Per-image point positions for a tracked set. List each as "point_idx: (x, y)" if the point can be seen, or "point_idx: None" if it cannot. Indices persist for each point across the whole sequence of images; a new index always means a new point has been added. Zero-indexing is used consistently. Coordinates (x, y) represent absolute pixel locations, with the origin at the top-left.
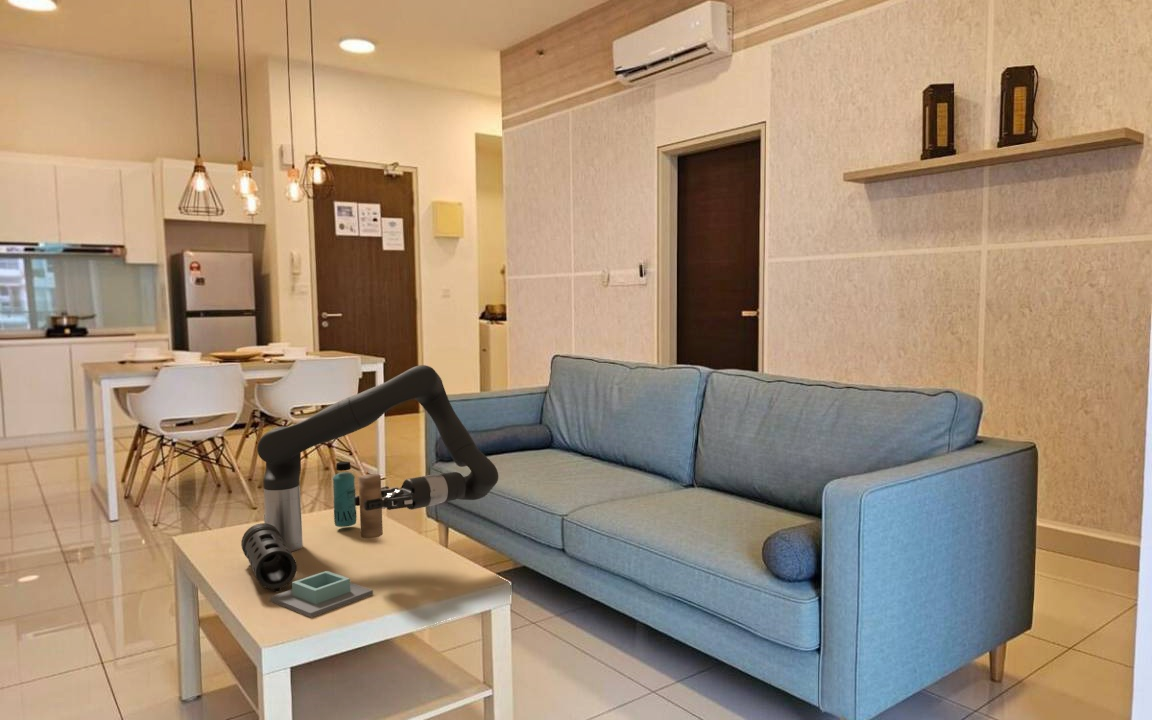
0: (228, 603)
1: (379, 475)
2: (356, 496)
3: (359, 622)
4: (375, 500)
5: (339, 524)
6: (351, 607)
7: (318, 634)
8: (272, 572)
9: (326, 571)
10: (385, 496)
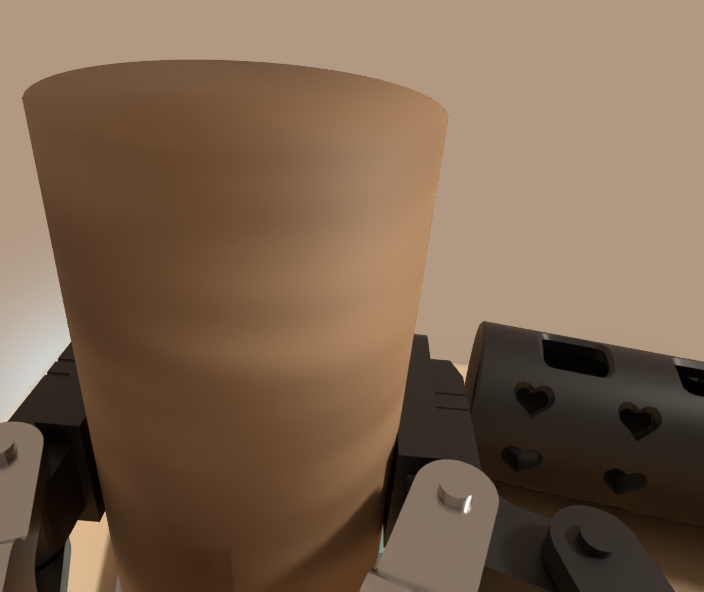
0: (455, 364)
1: (148, 140)
2: (414, 337)
3: None
4: (73, 382)
5: None
6: (76, 562)
7: (16, 403)
8: (614, 473)
9: (382, 546)
10: (25, 514)
